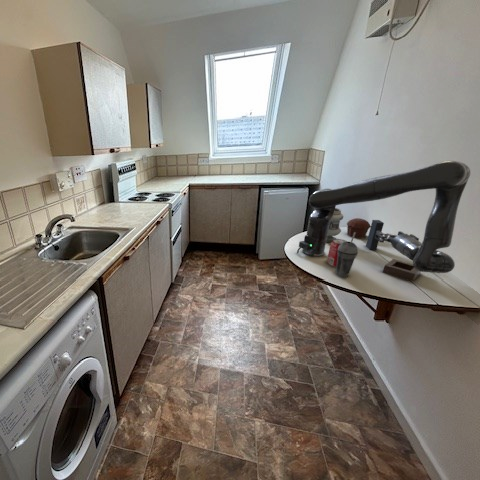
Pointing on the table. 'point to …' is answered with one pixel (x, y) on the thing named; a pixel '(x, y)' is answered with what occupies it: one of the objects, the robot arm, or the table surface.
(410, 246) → the robot arm
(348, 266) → the beverage cup
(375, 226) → the dark gray rectangular block
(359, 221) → the muffin
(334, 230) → the apothecary jar
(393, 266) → the frame
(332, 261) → the soda can
